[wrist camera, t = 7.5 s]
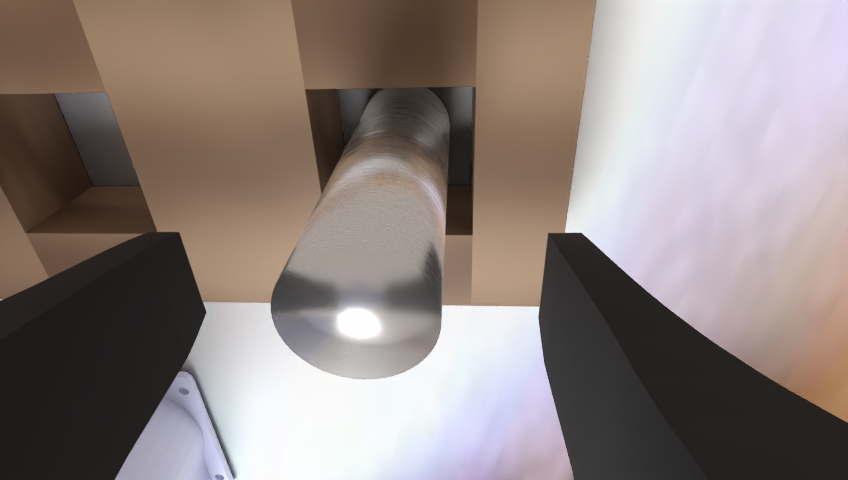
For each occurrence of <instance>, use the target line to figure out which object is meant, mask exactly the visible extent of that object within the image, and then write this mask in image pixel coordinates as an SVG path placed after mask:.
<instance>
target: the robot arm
mask: <svg viewBox="0 0 848 480" xmlns="http://www.w3.org/2000/svg"><path fill="white" fill-rule="evenodd" d="M205 314H206V310H205V307H204V304H203V301H202V298H201V295H200V292H199V289H198V286H197V283H196V280H195V277H194V274H193V271H192V268H191V265H190V263H189V260H188V257H187V254H186V251H185V248H184V245H183V242H182V239H181V236H180V233H179V232H148V233H145V234H142V235H140V236H137V237H134V238H132V239H130V240H127V241H125V242H123V243H120V244H118V245H116V246H114V247H112V248H110V249H107V250H105V251H103V252H101V253H99V254H97V255H95V256H93V257H91V258H89V259H87V260H85V261H83V262H81V263H79V264H77V265H74V266H72V267H70V268H68V269H66V270H64V271H62V272H60V273H58V274H56V275H54V276H52V277H50V278H48V279H46V280H44V281H42V282H40V283H38V284H36V285H34V286H32V287H29V288H27V289H25V290H23V291H21V292H19V293H16V294H14V295H12V296H10V297H8V298H6V299H3V300H1V301H0V480H234V479H233V477H232V474H231V472H230V469H229V467H228V464H227V462H226V459H225V456H224V454H223V451H222V449H221V446H220V444H219V441H218V439H217V436H216V433H215V431H214V428H213V426H212V423H211V421H210V418H209V416H208V413H207V411H206V408H205V405H204V403H203V400H202V398H201V395H200V393H199V390H198V388H197V385H196V382H195V380H194V378H193V376H192V375H191V374H189V373H187V372H183V371H180V369H181V368H182V366H183V364H184V362H185V361H186V359H187V357H188V355H189V353H190V351H191V349H192V346H193V344H194V342H195V339H196V337H197V335H198V332H199V330H200V327H201V325H202V322H203V320H204V317H205ZM539 325H540V333H541V342H542V349H543V356H544V363H545V367H546V371H547V375H548V379H549V383H550V387H551V391H552V395H553V398H554V402H555V406H556V410H557V414H558V418H559V421H560V425H561V429H562V433H563V437H564V440H565V444H566V448H567V452H568V456H569V459H570V463H571V467H572V471H573V475H574V480H848V423H847V422H845V421H843V420H841V419H840V418H838V417H836V416H834V415H832V414H831V413H829V412H827V411H825V410H823V409H822V408H820V407H818V406H816V405H815V404H813V403H811V402H809V401H807V400H806V399H804V398H802V397H800V396H798V395H797V394H795V393H793V392H791V391H789V390H788V389H786V388H784V387H783V386H781V385H779V384H778V383H776V382H774V381H773V380H771V379H769V378H768V377H766V376H764V375H763V374H761V373H759V372H758V371H756V370H755V369H753V368H752V367H750V366H749V365H747V364H746V363H744V362H743V361H741V360H739V359H738V358H736V357H735V356H733V355H732V354H730V353H729V352H727V351H726V350H724V349H723V348H721V347H719V346H718V345H717V344H715V343H714V342H712V341H711V340H709V339H708V338H707V337H705V336H704V335H702V334H701V333H700V332H698V331H697V330H696V329H694V328H693V327H692V326H690V325H689V324H688V323H686V322H685V321H684V320H682V319H681V318H680V317H678V316H677V315H676V314H674V313H673V312H672V311H670V310H669V309H668V308H667V307H665V306H664V305H663V304H662V303H660V302H659V301H658V300H657V299H656V298H654V297H653V296H652V295H651V294H649V293H648V292H647V291H646V290H645V289H644V288H642V287H641V286H640V285H639V284H638V283H637V282H635V281H634V280H633V279H632V278H631V277H630V276H629V275H627V274H626V273H625V272H624V271H623V270H622V269H621V268H620V267H618V266H617V265H616V264H615V263H614V262H613V261H612V260H611V259H610V258H609V257H607V256H606V255H605V254H604V253H603V252H602V251H601V250H600V249H599V248H598V247H597V246H595V245H594V244H593V243H592V242H591V241H590V240H589V239H588V238H587V237H585V236H584V235H583V234H582V233H548V238H547V247H546V256H545V265H544V273H543V282H542V291H541V300H540V308H539Z"/></svg>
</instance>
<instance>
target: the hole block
mask: <svg viewBox="0 0 848 480" xmlns="http://www.w3.org/2000/svg"><path fill="white" fill-rule="evenodd" d="M595 5H596V0H0V299H6V298H8V297H10V296H12V295H14V294H16V293H19V292H21V291H23V290H25V289H27V288H29V287H32V286H34V285H36V284H38V283H40V282H42V281H44V280H46V279H48V278H50V277H52V276H54V275H56V274H58V273H60V272H62V271H64V270H66V269H68V268H70V267H72V266H74V265H77V264H79V263H81V262H83V261H85V260H87V259H89V258H91V257H93V256H95V255H97V254H99V253H101V252H103V251H105V250H107V249H110V248H112V247H114V246H116V245H118V244H120V243H123V242H125V241H127V240H130V239H132V238H134V237H137V236H140V235H142V234H145V233H148V232H179V233H180V236H181V239H182V242H183V245H184V248H185V251H186V254H187V257H188V260H189V263H190V265H191V268H192V271H193V274H194V277H195V280H196V283H197V286H198V289H199V292H200V295H201V298H202V301H203V302H259V303H271V297H272V292H273V289H274V287H275V284H276V282H277V280H278V278H279V276H280V274H281V272H282V270H283V269H284V267H285V265H286V263H287V261H288V259H289V257H290V255H291V253H292V251H293V249H294V247H295V245H296V243H297V241H298V239H299V237H300V235H301V233H302V231H303V229H304V228H305V226H306V224H307V222H308V220H309V218H310V216H311V214H312V212H313V210H314V208H315V206H316V204H317V202H318V200H319V198H320V196H321V194H322V192H323V190H324V188H325V187H326V185H327V183H328V181H329V179H330V177H331V175H332V173H333V171H334V169H335V167H336V165H337V163H338V161H339V159H340V157H341V155H342V153H343V151H344V142H343V134H342V126H341V117H340V109H339V101H338V93H337V89H358V88H420V87H473V92H472V145H471V185H447V205H446V227H445V249H444V272H443V294H442V305H469V306H539V307H540V300H541V291H542V282H543V273H544V265H545V256H546V247H547V238H548V233H565V227H566V219H567V212H568V205H569V197H570V190H571V182H572V175H573V168H574V160H575V153H576V146H577V138H578V131H579V123H580V116H581V109H582V101H583V94H584V87H585V79H586V72H587V64H588V57H589V50H590V42H591V35H592V27H593V20H594V13H595ZM53 93H107V95H108V98H109V101H110V104H111V106H112V109H113V112H114V115H115V117H116V120H117V123H118V125H119V128H120V131H121V134H122V136H123V139H124V142H125V145H126V147H127V150H128V153H129V155H130V158H131V161H132V164H133V166H134V169H135V172H136V175H137V177H138V180H139V183H140V186H92V184H91V182H90V179H89V177H88V175H87V172H86V170H85V168H84V165H83V163H82V161H81V158H80V156H79V153H78V151H77V149H76V146H75V144H74V142H73V139H72V137H71V135H70V132H69V130H68V127H67V125H66V123H65V120H64V118H63V116H62V113H61V111H60V109H59V106H58V104H57V101H56V99H55V97H54V94H53Z"/></svg>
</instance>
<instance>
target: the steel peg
mask: <svg viewBox="0 0 848 480" xmlns="http://www.w3.org/2000/svg"><path fill="white" fill-rule="evenodd" d="M449 137H450V120H449V115H448V112H447V110H446V108H445V106H444V104H443V102H442V101H441V100H440V98H439V97H438V96H437V95H436V94H435V93H433V92H432V91H431V90H429V89H428V88H426V87H420V88H383V89H381V90H380V91H378V92H377V93H376V94H375V95H374V96H373V97H372V98H371V100H370V101H369V103H368V105H367V107H366V108H365V110H364V112H363V114H362V116H361V118H360V120H359V122H358V124H357V126H356V128H355V130H354V132H353V134H352V136H351V138H350V140H349V142H348V144H347V146H346V147H345V149H344V151H343V153H342V155H341V157H340V159H339V161H338V163H337V165H336V167H335V169H334V171H333V173H332V175H331V177H330V179H329V181H328V183H327V185H326V187H325V188H324V190H323V192H322V194H321V196H320V198H319V200H318V202H317V204H316V206H315V208H314V210H313V212H312V214H311V216H310V218H309V220H308V222H307V224H306V226H305V228H304V229H303V231H302V233H301V235H300V237H299V239H298V241H297V243H296V245H295V247H294V249H293V251H292V253H291V255H290V257H289V259H288V261H287V263H286V265H285V267H284V269H283V270H282V272H281V274H280V276H279V278H278V280H277V282H276V284H275V287H274V289H273V292H272V297H271V313H272V319H273V322H274V325H275V327H276V329H277V331H278V333H279V335H280V336H281V338H282V339H283V341H284V342H285V343H286V345H287V346H288V347H289V348H290V349H291V350H292V351H293V352H294V353H295V354H296V355H298V356H299V357H300V358H302V359H303V360H304V361H306V362H307V363H309V364H311V365H313V366H314V367H316V368H319V369H321V370H323V371H325V372H328V373H331V374H334V375H338V376H342V377H347V378H353V379H378V378H385V377H390V376H394V375H397V374H400V373H403V372H405V371H407V370H409V369H411V368H413V367H414V366H416V365H418V364H419V363H420V362H421V361H423V360H424V359H425V358H426V357H427V356H428V355H429V353H430V352H431V351H432V349H433V348H434V346H435V345H436V342H437V340H438V338H439V334H440V330H441V317H442V294H443V272H444V249H445V227H446V205H447V182H448V160H449Z"/></svg>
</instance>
